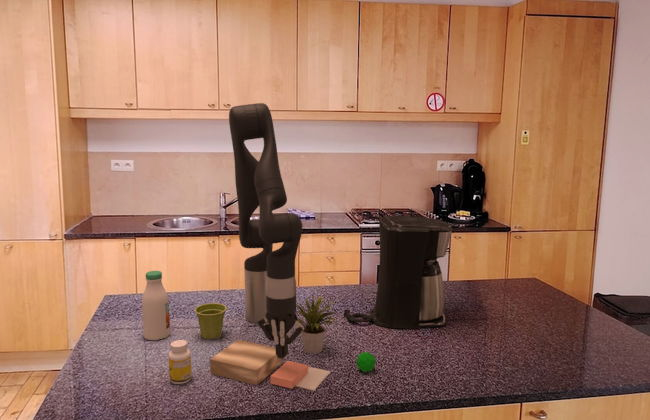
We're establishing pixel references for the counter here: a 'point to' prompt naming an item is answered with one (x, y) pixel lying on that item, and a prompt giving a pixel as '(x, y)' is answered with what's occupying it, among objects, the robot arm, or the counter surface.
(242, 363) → the wooden block
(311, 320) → the house plant
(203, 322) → the plant pot
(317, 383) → the mat
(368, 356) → the polyhedron
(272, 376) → the salmon orange flat block
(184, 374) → the supplement bottle
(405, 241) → the coffee maker
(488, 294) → the counter surface
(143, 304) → the milk bottle
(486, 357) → the counter surface
